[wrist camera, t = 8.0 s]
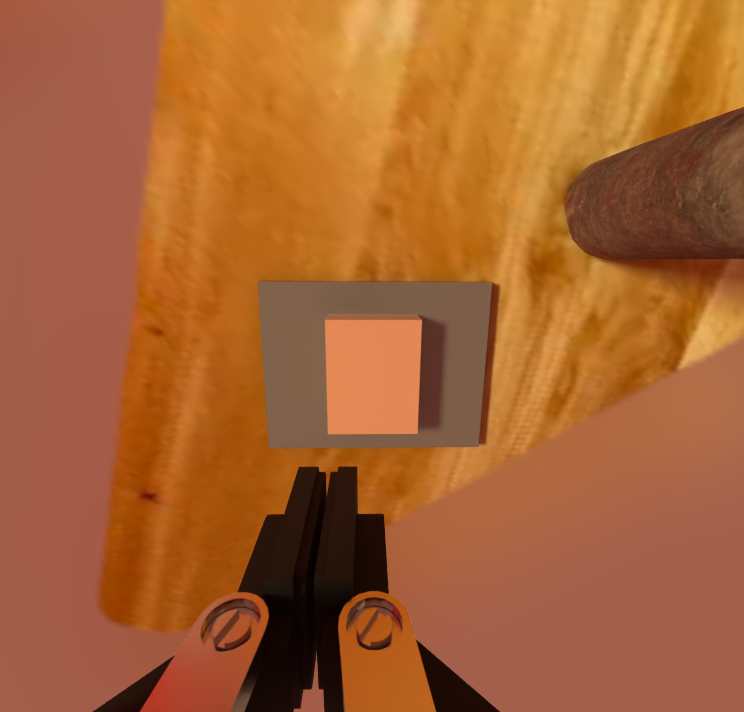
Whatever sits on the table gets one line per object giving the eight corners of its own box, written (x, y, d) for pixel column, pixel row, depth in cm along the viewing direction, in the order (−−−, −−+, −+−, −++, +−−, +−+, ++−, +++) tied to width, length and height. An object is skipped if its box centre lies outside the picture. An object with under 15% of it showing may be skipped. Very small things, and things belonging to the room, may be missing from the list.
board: (488, 281, 31) (492, 282, 30) (475, 441, 35) (478, 446, 34) (260, 280, 31) (257, 281, 30) (271, 442, 34) (269, 448, 33)
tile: (327, 314, 30) (417, 314, 31) (330, 420, 33) (413, 420, 33) (324, 319, 28) (421, 320, 28) (327, 434, 30) (417, 433, 30)
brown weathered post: (670, 158, 29) (1284, -28, 10) (648, 260, 31) (1126, 273, 12) (569, 154, 29) (992, -45, 9) (554, 256, 31) (880, 264, 11)
